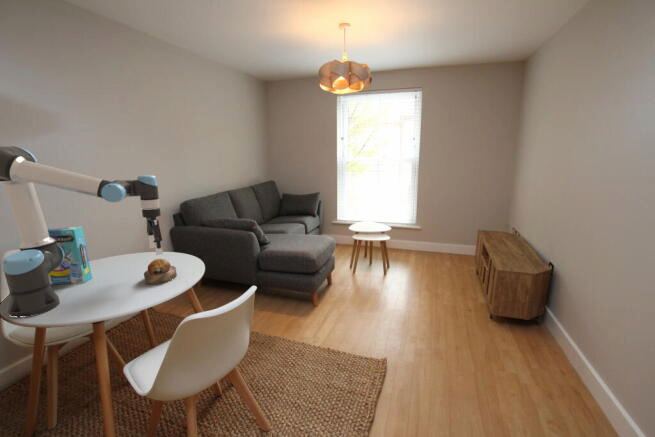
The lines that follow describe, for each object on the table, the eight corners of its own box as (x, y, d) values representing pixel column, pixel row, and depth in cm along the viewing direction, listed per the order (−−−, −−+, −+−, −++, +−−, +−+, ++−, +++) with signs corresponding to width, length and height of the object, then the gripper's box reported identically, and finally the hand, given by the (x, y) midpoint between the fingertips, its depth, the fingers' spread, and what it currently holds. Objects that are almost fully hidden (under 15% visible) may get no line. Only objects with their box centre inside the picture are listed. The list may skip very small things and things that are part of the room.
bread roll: (173, 275, 154) (176, 259, 156) (161, 274, 144) (163, 257, 146) (155, 274, 155) (157, 259, 157) (141, 274, 145) (144, 257, 147)
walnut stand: (148, 287, 142) (147, 279, 141) (142, 278, 153) (141, 270, 152) (180, 278, 151) (179, 271, 150) (172, 270, 162) (171, 263, 161)
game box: (39, 285, 146) (25, 231, 140) (49, 280, 152) (37, 227, 146) (84, 283, 148) (73, 229, 142) (93, 278, 154) (82, 226, 148)
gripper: (166, 211, 137) (171, 255, 142) (153, 203, 156) (158, 243, 160) (147, 213, 132) (153, 259, 137) (136, 205, 151) (142, 246, 155)
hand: (156, 251), depth 149 cm, fingers open, 13 cm apart
